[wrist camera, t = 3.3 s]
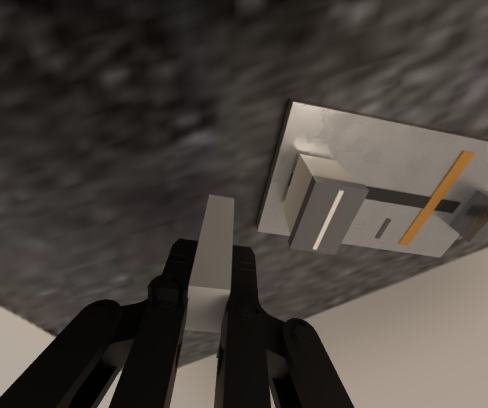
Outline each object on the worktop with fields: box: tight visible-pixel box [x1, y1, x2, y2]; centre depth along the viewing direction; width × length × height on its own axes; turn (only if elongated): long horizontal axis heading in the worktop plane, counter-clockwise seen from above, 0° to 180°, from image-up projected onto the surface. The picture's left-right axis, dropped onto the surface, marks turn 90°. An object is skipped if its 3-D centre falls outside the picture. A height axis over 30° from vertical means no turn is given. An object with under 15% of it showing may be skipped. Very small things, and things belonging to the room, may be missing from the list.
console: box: [257, 98, 488, 257], centre depth 21 cm, size 12×20×4 cm, turn 79°
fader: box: [283, 154, 369, 255], centre depth 18 cm, size 5×3×5 cm, turn 169°
